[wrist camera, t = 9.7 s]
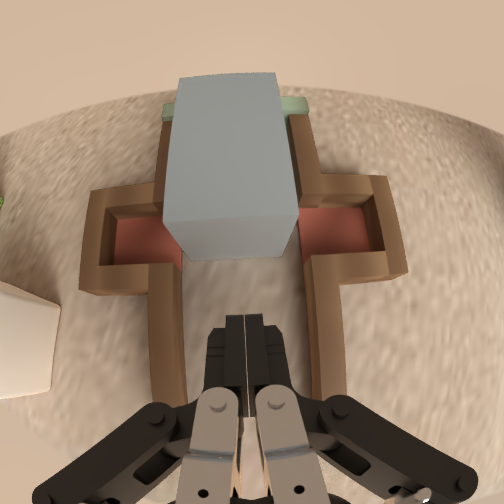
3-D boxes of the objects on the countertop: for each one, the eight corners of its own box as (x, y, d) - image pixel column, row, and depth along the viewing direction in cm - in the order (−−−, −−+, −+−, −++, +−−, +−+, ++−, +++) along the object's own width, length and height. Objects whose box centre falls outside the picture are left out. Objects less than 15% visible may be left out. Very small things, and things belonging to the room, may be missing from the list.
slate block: (268, 138, 22) (275, 72, 15) (281, 257, 19) (299, 214, 12) (194, 142, 22) (179, 78, 15) (191, 262, 19) (162, 222, 12)
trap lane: (353, 124, 22) (363, 102, 19) (399, 401, 16) (421, 409, 13) (119, 136, 22) (107, 114, 19) (103, 417, 15) (82, 428, 12)
